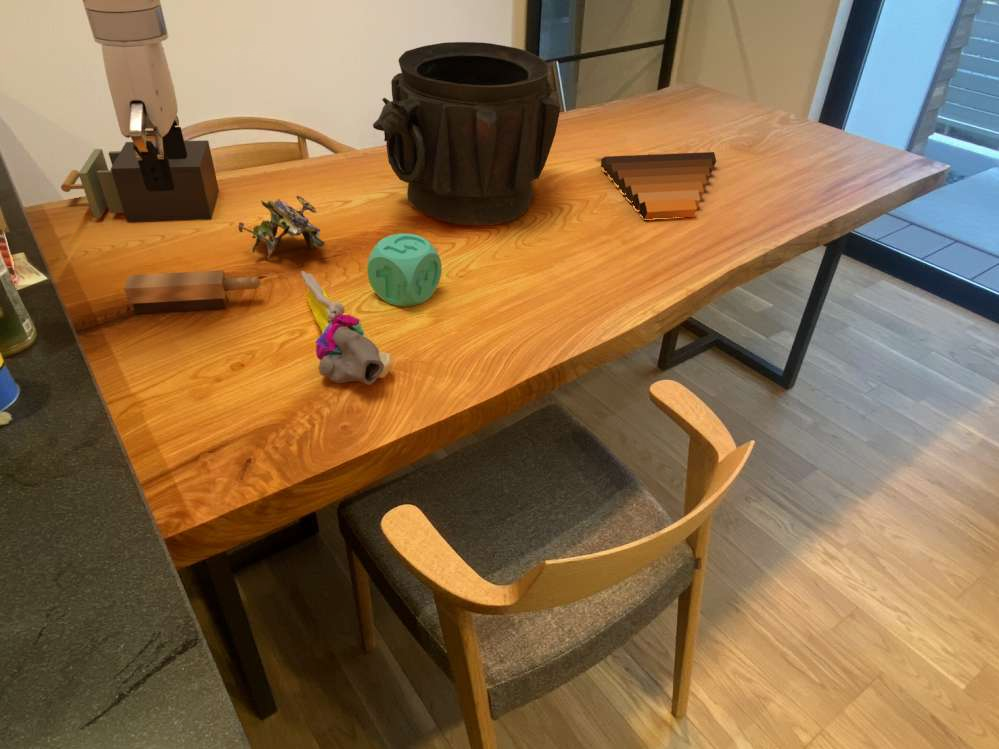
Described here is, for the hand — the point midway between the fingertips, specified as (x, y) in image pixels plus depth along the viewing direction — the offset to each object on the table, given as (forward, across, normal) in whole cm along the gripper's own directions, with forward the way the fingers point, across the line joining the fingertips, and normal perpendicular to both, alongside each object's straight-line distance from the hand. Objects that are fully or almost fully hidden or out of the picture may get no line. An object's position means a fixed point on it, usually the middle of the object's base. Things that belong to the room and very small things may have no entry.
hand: (168, 173), depth 86 cm
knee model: (+21, +11, +19) cm, 30 cm away
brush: (+20, -1, -1) cm, 20 cm away
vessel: (+21, -32, +44) cm, 58 cm away
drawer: (+19, -34, -17) cm, 43 cm away
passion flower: (+21, -15, +11) cm, 28 cm away
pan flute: (+21, -33, +87) cm, 95 cm away
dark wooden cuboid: (+20, -34, -9) cm, 41 cm away
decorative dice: (+21, -1, +29) cm, 36 cm away
